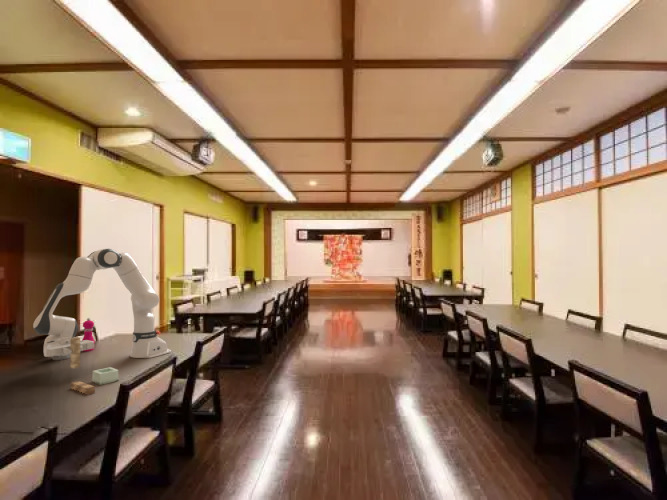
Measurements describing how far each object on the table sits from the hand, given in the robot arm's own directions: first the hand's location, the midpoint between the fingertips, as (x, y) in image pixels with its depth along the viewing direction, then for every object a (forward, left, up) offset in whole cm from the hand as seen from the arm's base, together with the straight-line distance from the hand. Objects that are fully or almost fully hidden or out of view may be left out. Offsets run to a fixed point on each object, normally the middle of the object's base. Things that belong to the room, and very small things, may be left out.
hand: (76, 350), depth 185 cm
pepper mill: (-29, -59, -14) cm, 67 cm away
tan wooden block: (0, -1, -8) cm, 8 cm away
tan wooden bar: (+4, +18, -14) cm, 24 cm away
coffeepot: (-12, -49, -14) cm, 52 cm away
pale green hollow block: (-8, +12, -14) cm, 20 cm away
